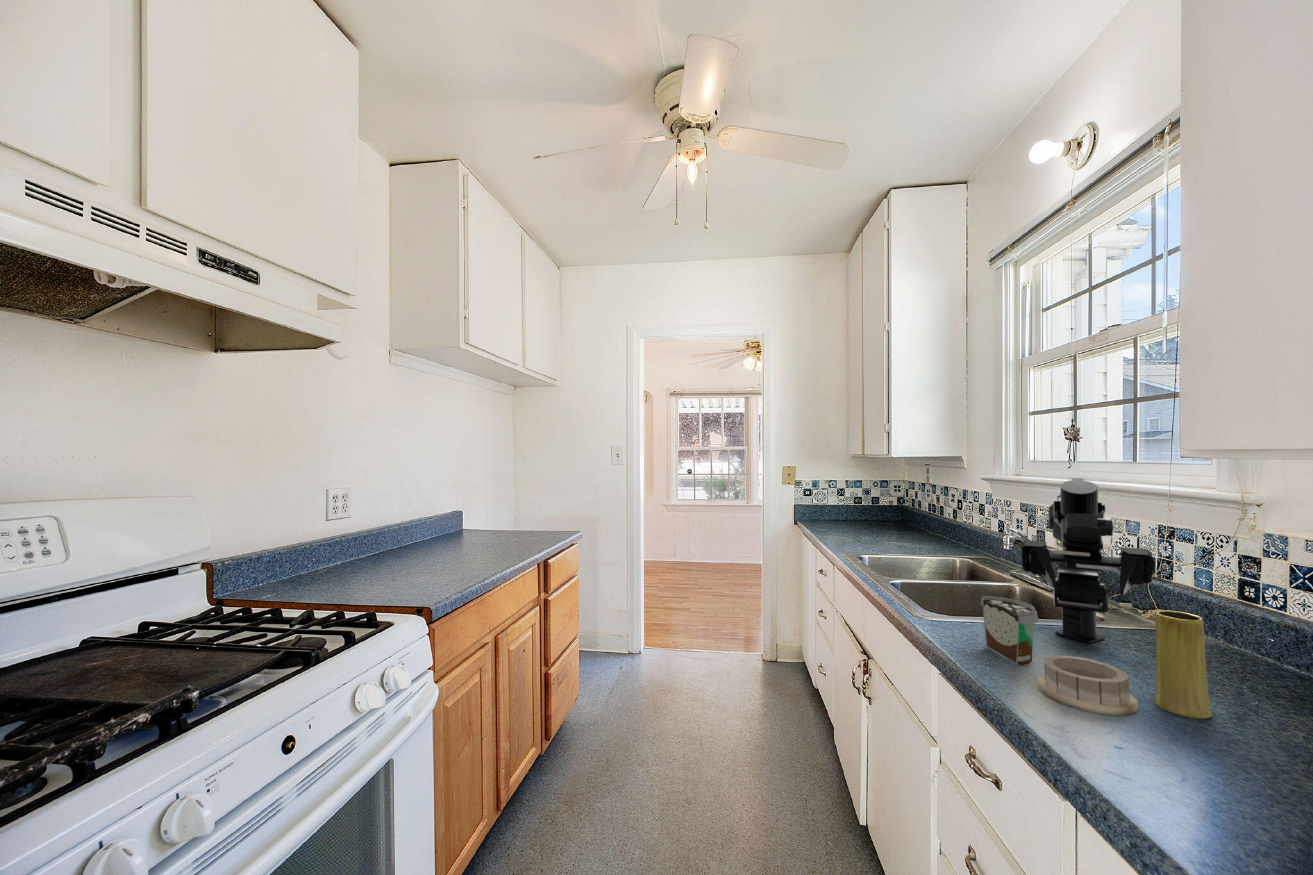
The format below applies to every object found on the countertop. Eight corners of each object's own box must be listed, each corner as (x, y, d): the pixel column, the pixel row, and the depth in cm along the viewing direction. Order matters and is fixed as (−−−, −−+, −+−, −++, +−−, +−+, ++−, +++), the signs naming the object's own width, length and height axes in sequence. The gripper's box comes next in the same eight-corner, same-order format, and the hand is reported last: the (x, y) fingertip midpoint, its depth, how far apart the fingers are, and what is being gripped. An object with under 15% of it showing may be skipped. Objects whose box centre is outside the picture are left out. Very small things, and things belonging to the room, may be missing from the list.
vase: (1202, 705, 81) (1198, 612, 81) (1219, 723, 75) (1214, 623, 76) (1149, 696, 84) (1145, 607, 84) (1162, 713, 78) (1158, 617, 79)
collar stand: (1062, 674, 92) (1061, 648, 92) (1153, 704, 81) (1152, 674, 81) (1021, 688, 87) (1020, 661, 87) (1112, 722, 76) (1111, 691, 76)
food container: (1056, 668, 95) (1054, 613, 95) (1022, 668, 95) (1020, 613, 95) (1012, 644, 107) (1010, 595, 108) (981, 644, 107) (980, 595, 108)
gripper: (1020, 501, 105) (1020, 546, 94) (1146, 505, 94) (1163, 557, 83) (1022, 546, 109) (1022, 595, 98) (1143, 556, 98) (1159, 612, 87)
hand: (1087, 589), depth 91 cm, fingers open, 9 cm apart
